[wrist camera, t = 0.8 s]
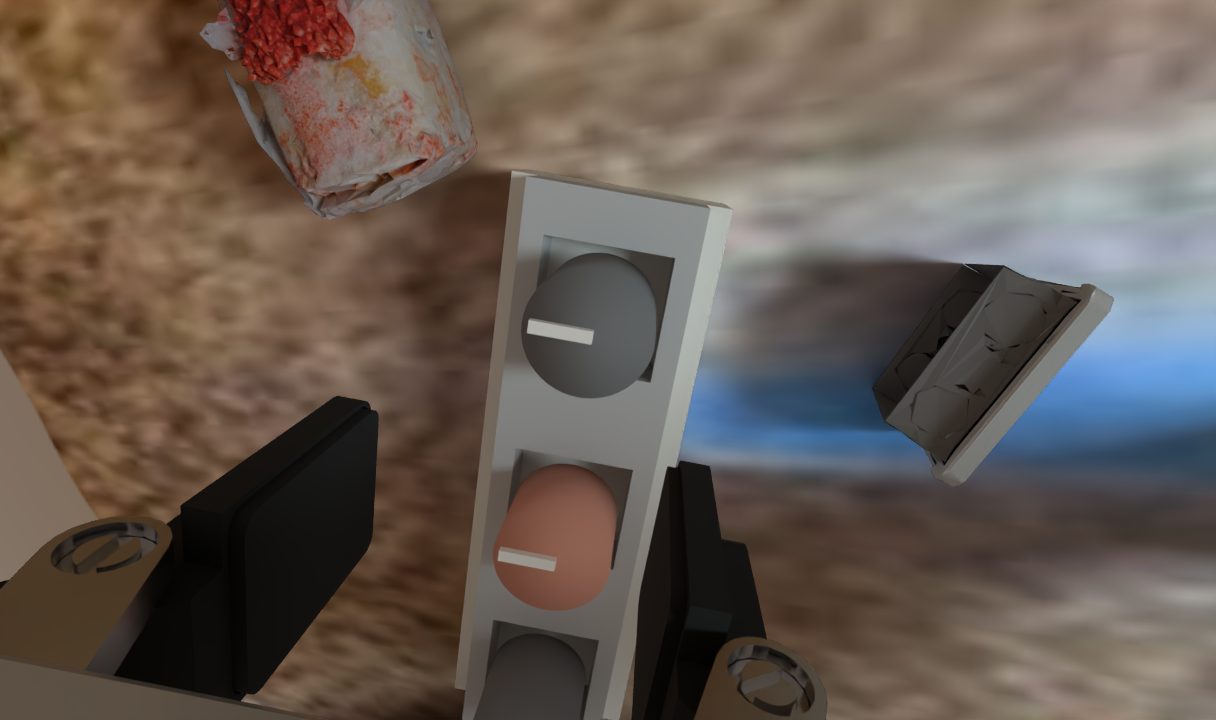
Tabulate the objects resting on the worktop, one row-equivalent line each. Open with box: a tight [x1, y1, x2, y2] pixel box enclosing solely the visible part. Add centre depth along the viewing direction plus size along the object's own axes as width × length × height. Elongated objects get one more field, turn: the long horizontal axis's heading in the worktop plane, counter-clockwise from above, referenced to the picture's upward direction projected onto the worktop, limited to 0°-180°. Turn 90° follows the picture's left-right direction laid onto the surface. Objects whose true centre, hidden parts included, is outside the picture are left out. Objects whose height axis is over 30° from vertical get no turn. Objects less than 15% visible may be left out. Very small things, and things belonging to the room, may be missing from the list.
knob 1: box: [473, 634, 586, 720], centre depth 31 cm, size 5×5×4 cm
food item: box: [199, 0, 477, 220], centre depth 26 cm, size 14×8×10 cm, turn 19°
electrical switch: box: [872, 264, 1114, 488], centre depth 28 cm, size 9×5×9 cm, turn 152°
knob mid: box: [493, 464, 617, 611], centre depth 28 cm, size 5×5×4 cm
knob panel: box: [454, 170, 733, 720], centre depth 33 cm, size 10×30×6 cm, turn 171°
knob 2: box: [521, 253, 657, 398], centre depth 24 cm, size 5×5×4 cm
